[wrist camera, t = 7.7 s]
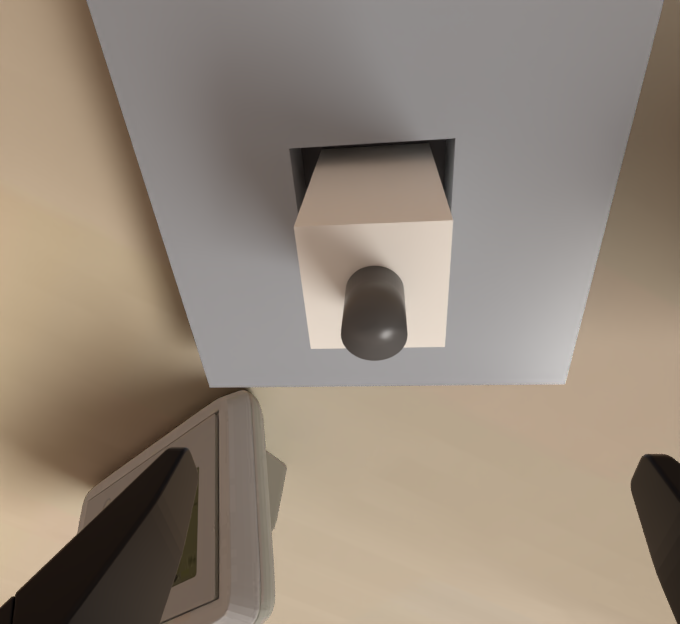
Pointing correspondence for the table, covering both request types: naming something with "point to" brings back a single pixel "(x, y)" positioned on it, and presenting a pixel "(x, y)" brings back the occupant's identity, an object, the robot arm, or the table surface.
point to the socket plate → (381, 130)
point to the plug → (375, 251)
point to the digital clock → (217, 514)
